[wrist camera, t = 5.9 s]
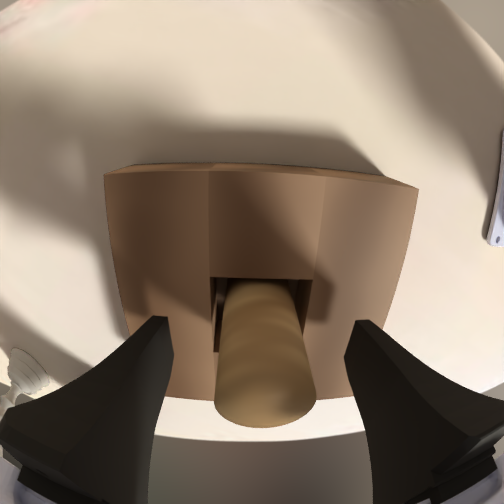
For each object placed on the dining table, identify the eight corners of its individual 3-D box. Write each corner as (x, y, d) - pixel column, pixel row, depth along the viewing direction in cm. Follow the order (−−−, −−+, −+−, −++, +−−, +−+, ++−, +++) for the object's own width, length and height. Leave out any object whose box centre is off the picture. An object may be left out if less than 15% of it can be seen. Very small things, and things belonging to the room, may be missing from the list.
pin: (292, 261, 13) (329, 372, 7) (282, 312, 14) (302, 427, 8) (229, 254, 13) (215, 367, 7) (224, 308, 14) (212, 424, 8)
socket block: (386, 176, 12) (418, 189, 9) (342, 362, 17) (353, 396, 14) (133, 164, 12) (103, 174, 9) (159, 359, 16) (148, 393, 14)
